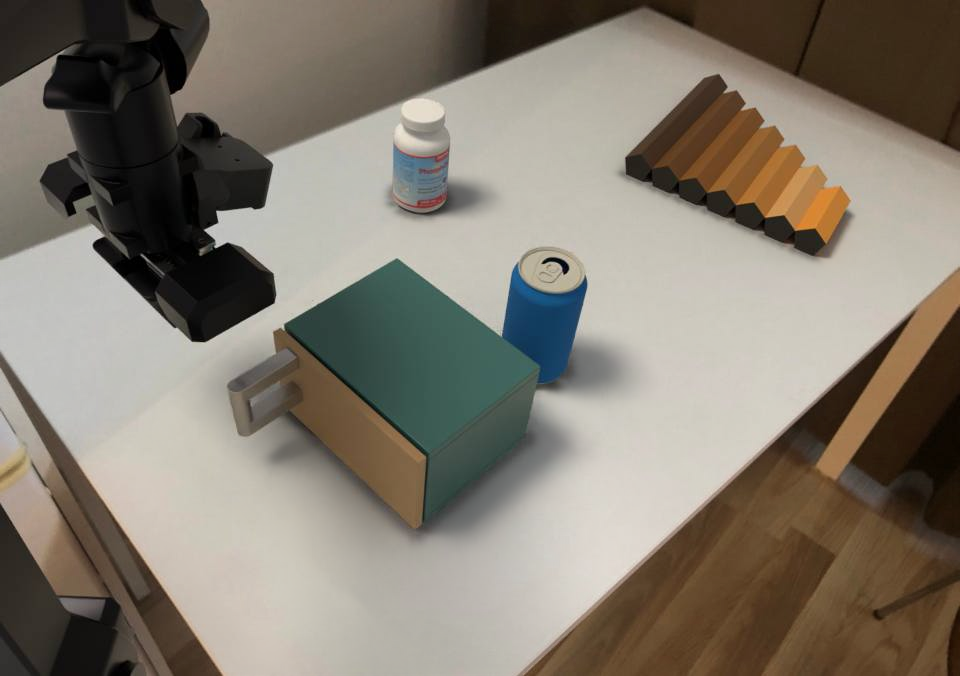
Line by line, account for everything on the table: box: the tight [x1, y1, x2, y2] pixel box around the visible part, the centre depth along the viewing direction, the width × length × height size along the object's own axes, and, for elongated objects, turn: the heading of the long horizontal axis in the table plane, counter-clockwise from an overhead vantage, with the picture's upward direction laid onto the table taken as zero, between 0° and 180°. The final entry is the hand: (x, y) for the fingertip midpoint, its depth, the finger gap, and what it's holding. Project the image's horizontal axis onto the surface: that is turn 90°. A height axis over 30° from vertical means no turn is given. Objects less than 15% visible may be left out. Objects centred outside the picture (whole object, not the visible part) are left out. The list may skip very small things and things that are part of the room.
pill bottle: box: [392, 98, 451, 214], centre depth 86 cm, size 6×6×11 cm
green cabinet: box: [283, 257, 540, 523], centre depth 66 cm, size 12×17×10 cm
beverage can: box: [501, 245, 589, 385], centre depth 70 cm, size 6×6×12 cm
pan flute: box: [624, 73, 852, 257], centre depth 99 cm, size 25×3×25 cm
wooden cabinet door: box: [226, 327, 426, 531], centre depth 61 cm, size 6×17×9 cm, turn 46°
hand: (178, 322), depth 58 cm, fingers closed
